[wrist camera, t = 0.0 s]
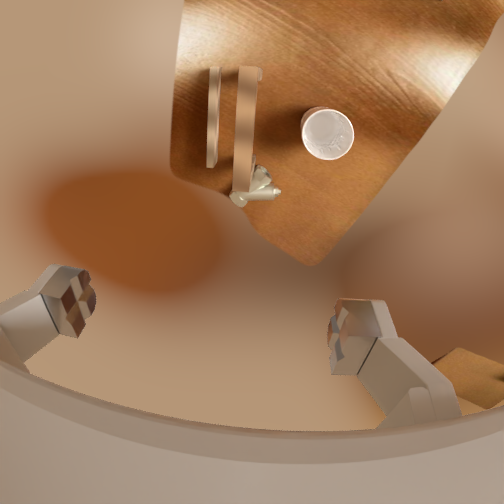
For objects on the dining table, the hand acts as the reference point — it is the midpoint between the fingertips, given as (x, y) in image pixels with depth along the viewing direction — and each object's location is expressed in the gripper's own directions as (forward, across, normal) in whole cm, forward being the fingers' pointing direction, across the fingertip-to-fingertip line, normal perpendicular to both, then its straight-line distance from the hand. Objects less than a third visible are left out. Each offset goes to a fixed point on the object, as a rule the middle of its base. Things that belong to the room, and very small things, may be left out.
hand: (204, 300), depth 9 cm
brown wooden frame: (+48, +5, +1) cm, 48 cm away
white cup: (+48, -10, +1) cm, 49 cm away
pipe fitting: (+48, 0, +15) cm, 51 cm away
